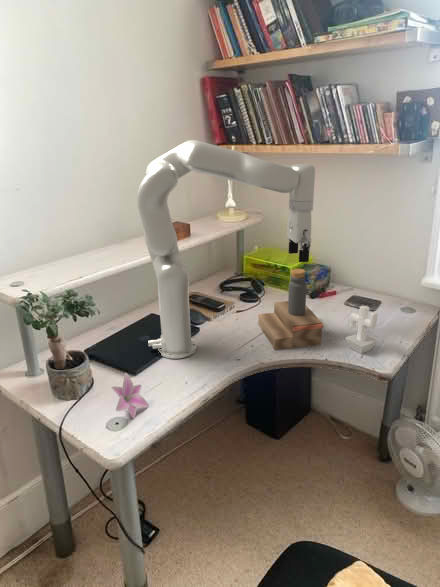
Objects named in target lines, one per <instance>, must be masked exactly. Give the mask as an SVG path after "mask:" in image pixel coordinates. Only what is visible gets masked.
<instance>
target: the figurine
mask: <svg viewBox="0 0 440 587" xmlns="http://www.w3.org/2000/svg"><path fill="white" fill-rule="evenodd" d="M369 313H370V307H369V306H367V305H360V306H359V311H358V313H357V312H352V313H351V314H350V318H349V328H350V329H355V328H357V333H354V334H352V335H348V336H346V337H344V339H345V341H346V342H347V345H348V346H349V348H350V350H353V351H355V352H357V353H358V354H360V355H361V354H364V353H367V352H368V351H371V349H372V348H373V347H374V346H375V345H376V343H377V342H378V341H379V340H378V339H376V338H374V337H372V336H369V335H368V334H367V330H368V329H371V330H374V329H375V328H376V326H377V322H378V313H377V312H375V311H373V312H372V313H370V318H369ZM356 326H357V327H356Z"/></svg>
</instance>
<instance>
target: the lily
mask: <svg viewBox="0 0 440 587" xmlns="http://www.w3.org/2000/svg"><path fill="white" fill-rule="evenodd" d="M111 389H112V390H113V392H115V393H116V395H117V396H118V397H119V398H118V402H117V404H116V407H115V411H116V412H122V411H125V410H128V412H129V414H130V416H131V417H132V419H133V420H135V419H136V415H137V408H141V409H142V408H149V407H150V404H149V403H148V401H147V400H146V399H145V398H144V397H143V396H142V395H141V394H140V393H141V391H142V384H136V385H134V383H133V380H132V379H131V377H130V376H129V374H128V373H127V372H125V373H124V376H123V383H122V386H112V387H111Z"/></svg>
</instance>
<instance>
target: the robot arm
mask: <svg viewBox="0 0 440 587" xmlns="http://www.w3.org/2000/svg"><path fill="white" fill-rule="evenodd" d="M315 167H316V166H315V165H312V164H309V163H297V164H280V163H273V162H271V161H267V160H264V159H260V158H258V157H255V156H252V155H250V154H248V153H244V152H241V151H238V150H234V149H230V148H225V147H223V146H219V145H218V146H217V145H215V144H211V143H208V142H203V141H199V140H196V139H188V140H186V141H184V142H182V143H181V144H179V145H177V146H176V147H175V148H174V147H173V148H172V149H171V150H169V151H168V152H165V153H163V154H161V155H160V156H158V157H157V158H156V159H153V160H152V161H151V162H149V164H148V165H147V167H146V170H145V177H144V178H143V180H141V182H140V184H139V188H138V191H137V196H136V203H137V209H138V212H139V216H140V220H141V224H142V227H143V238H144V241H145V245H146V247H147V250H148V253H149V257H150V260H151V263H152V267H153V269H154V272H155V276H156V280H157V295H158V309H159V317H160V320H159V321H160V329H161V330H160V331H161V335H160V338H159V337H158V338H157V339H151V340H149V339H148V340H147V341H148V343H147V344H148V347H151V348H152V349H157V350H158V351H159V352H160V353H161V355H160V356H162V357H164V358H167V359H173V360H175V359H183V358H187V357H190V356H191V355H193V354H195V352H196V351H197V344H196V342H195V341H194V340H192V330H191V329H192V328H191V315H190V313H191V312H190V311H191V310H190V295H189V292H190V291H189V290H190V289H189V287H190V286H189V285H190V276H189V271H188V268H187V266H186V265H187V264H185V262H184V261H183V259H182V256H181V253H180V249H179V245H178V235H177V232H176V230H175V228H174V225H173V221H172V218H171V214H170V209H169V206H168V205H169V204H168V197H169V195H170V194H171V192H172V191H173V190H174V189H175V188H176V187H177V185H178V182H179V179H181V178H183V177H184V176H186V175H187V174H189V173H190V172H194V173H198V174H202V175H206V176H211V177H215V178H220V179H223V180H226V181H227V180H228V181H231V182H235V183H239V184H244V185H247V186H248V185H249V186H254V187H257V188H259V189H264V190H268V191H271V192H272V191H273V192H276V193H277V192H278V193H281V194H288V193H289V194H288V195H289V198H288V210H289V211H288V215H287V224H286V226H287V228H286V237H288V254H290V255H292V254H298V262H299V263H308V262H309V261H310V260H309V259H310V250H311V246H312V245H311V242H312V211H314V198H315V197H314V196H315V195H314V194H315V183H316V182H315V180H316V178H315V177H316V168H315ZM299 247H300V249H299ZM160 348H161V349H160ZM158 351H157V352H158ZM159 352H158V353H159Z"/></svg>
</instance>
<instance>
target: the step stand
mask: <svg viewBox="0 0 440 587" xmlns="http://www.w3.org/2000/svg"><path fill="white" fill-rule="evenodd" d="M273 305H274V306H273V308H274V309H273V312H267V313H258V315H257V316H258V317H257V318H258V320H257V322H258V323H257V325H258V326H259V327H260V329H261V331H262V333H263V334H264V335H265V338H266V339H267V341H268V342H269V344H270V345H271V347H272V348H273V350H274V351H279V350H286V349H296V348H302V347H309V346H312V347H313V346H318V345H319V346H320V345H322V336H323V335H322V333H323V327H324V324H323V321H321V319H320V318H319V317H318V316H316V314H315V313H314V311H312V310H311V309H310V308H309V307H308V306H307V305H306V307H305V314H303V315H291V314H289V312H288V300H285V301H277V302H276V301H275V302H274V304H273Z"/></svg>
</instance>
